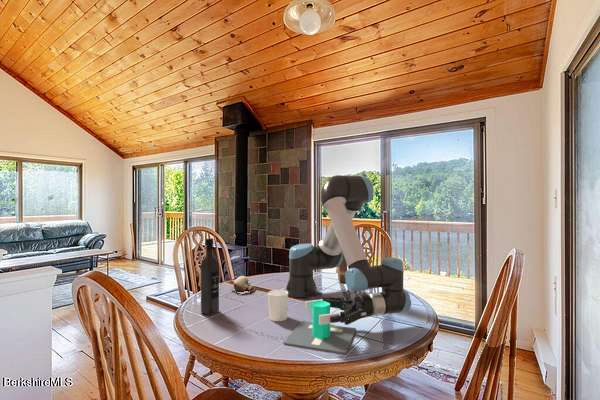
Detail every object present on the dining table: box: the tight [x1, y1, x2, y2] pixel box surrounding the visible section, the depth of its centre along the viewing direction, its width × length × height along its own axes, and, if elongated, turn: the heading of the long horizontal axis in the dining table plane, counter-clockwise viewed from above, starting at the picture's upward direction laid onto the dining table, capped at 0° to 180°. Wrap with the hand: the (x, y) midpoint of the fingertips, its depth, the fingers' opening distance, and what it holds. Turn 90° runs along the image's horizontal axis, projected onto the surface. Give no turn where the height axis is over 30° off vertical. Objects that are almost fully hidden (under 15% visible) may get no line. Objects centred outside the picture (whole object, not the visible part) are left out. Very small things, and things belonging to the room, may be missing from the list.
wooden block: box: [337, 255, 348, 284], centre depth 172 cm, size 9×4×18 cm, turn 179°
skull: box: [233, 275, 256, 293], centre depth 154 cm, size 12×10×10 cm
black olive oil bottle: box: [200, 238, 220, 315], centre depth 125 cm, size 6×6×30 cm
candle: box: [311, 299, 331, 339], centre depth 102 cm, size 6×6×12 cm
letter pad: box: [283, 320, 357, 355], centre depth 103 cm, size 20×18×1 cm
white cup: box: [267, 289, 289, 323], centre depth 119 cm, size 8×8×10 cm
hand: (311, 312), depth 102 cm, fingers open, 13 cm apart
